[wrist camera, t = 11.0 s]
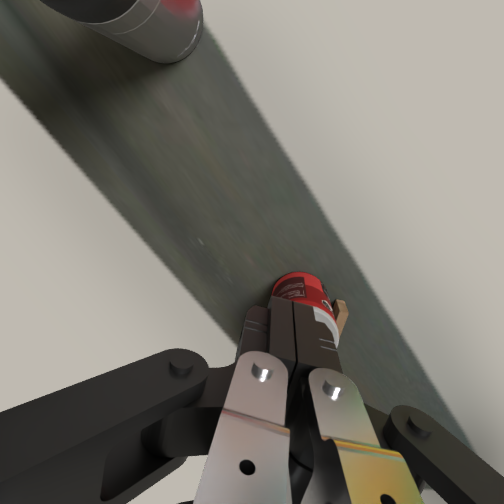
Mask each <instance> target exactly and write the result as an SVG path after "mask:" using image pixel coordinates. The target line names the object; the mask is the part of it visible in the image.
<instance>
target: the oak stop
mask: <svg viewBox="0 0 504 504" xmlns="http://www.w3.org/2000/svg"><path fill="white" fill-rule="evenodd" d="M332 310H333V313H334V317H335V320H336V323H337V327H338V333H339V337H340V335H341V332H342V330H343V327H344V324H345V322H346V319H347V317H348V314H349V313H348V310H347V307H346V304H345V302H344V301H342V300H338V299H336V301H335V303H334V306H333V309H332Z"/></svg>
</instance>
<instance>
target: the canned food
mask: <svg viewBox="0 0 504 504" xmlns="http://www.w3.org/2000/svg"><path fill="white" fill-rule="evenodd" d="M272 296H275V297H279V298H283V299H287V300H291V301H295V302H299V303H303V304H307V305H311V306H313V309H314V314H315V320H316V321H319V322H323V323H325V324H326V325H327V327H328V328H329V329H330V330H331V332H332V333H333V337H334V341H335V342H334V344H335V345H336V348H337V346H338V342H339V333H338V327H337V323H336V320H335V317H334V313H333V310H332V307H331V303H330V300H329V297H328V293H327V290H326V288H325V286H324V284H323V283H322V282H321V281H320V280H319V279H317V278H316V277H315V276H313V275H311V274H308V273H305V272H292V273H289V274H287V275H284V276H283V277H282V278H280V279H279V280H278V282H277V283H276V284H275V286H274V288H273V291H272Z"/></svg>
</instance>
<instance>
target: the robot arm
mask: <svg viewBox="0 0 504 504" xmlns="http://www.w3.org/2000/svg"><path fill="white" fill-rule="evenodd" d="M40 1H41V2H43V3H44V4H46V5H47V6H49V7H50V8H52V9H54V10H55V11H57V12H59V13H61V14H63V15H65V16H67V17H69V18H71V19H73V20H74V21H76V22H78V23H80V24H82V25H84V26H86V27H88V28H90V29H92V30H94V31H96V32H98V33H100V34H102V35H104V36H106V37H108V38H110V39H111V40H113V41H115V42H117V43H119V44H121V45H123V46H125V47H127V48H129V49H131V50H133V51H135V52H136V53H138V54H140V55H142V56H144V57H146V58H148V59H150V60H152V61H155V62H159V63H173V62H177V61H180V60H182V59H184V58H185V57H186V56H188V55H189V54H190V53H191V52H192V51H193V49H194V48H195V47H196V45H197V43H198V41H199V39H200V37H201V33H202V29H203V9H202V5H201V2H200V0H40ZM334 342H335V341H334V337H333V333H332V332H331V330H330V329H329V328H328V327H327V325H326V324H325V323H323V322H319V321H316V320H315V314H314V309H313V306H311V305H307V304H303V303H299V302H295V301H291V300H287V299H283V298H279V297H275V296H271V298H270V300H269V304H268V307H267V308H264V307H260V306H256V305H254V306H253V307H252V308H250V309H249V310H248V311H247V314H246V318H245V321H244V325H243V329H242V332H241V336H240V340H239V343H238V347H237V353H236V358H235V362H234V363H233V364H231V365H229V366H226V367H221V368H209V367H208V364H207V362H206V361H205V359H204V358H203V357H202V356H200V355H199V354H197V353H195V352H193V351H190V350H187V349H179V348H177V349H169V350H165V351H162V352H160V353H157V354H154V355H152V356H149V357H147V358H144V359H141V360H138V361H136V362H133V363H130V364H128V365H125V366H122V367H120V368H117V369H114V370H112V371H109V372H106V373H104V374H101V375H98V376H96V377H93V378H90V379H88V380H85V381H82V382H80V383H77V384H74V385H72V386H69V387H66V388H64V389H61V390H59V391H56V392H53V393H51V394H48V395H45V396H42V397H40V398H37V399H34V400H32V401H29V402H26V403H24V404H21V405H18V406H16V407H13V408H11V409H8V410H5V411H2V412H0V504H126V503H128V502H129V501H131V500H132V499H134V498H135V497H137V496H138V495H139V494H141V493H142V492H144V491H145V490H147V489H148V488H149V487H151V486H153V485H154V484H155V483H157V482H158V481H160V480H161V479H163V478H164V477H165V476H167V475H168V474H170V473H171V472H173V471H174V470H176V469H177V468H179V467H180V466H181V465H182V464H183V463H184V462H185V461H186V459H187V457H188V456H199V455H208V457H207V460H206V463H205V467H204V470H203V473H202V476H201V480H200V483H199V486H198V490H197V493H196V496H195V499H194V500H192V501H187V502H181V503H179V504H424V502H423V500H422V498H421V493H422V491H423V489H424V488H425V486H426V484H428V485H429V486H430V487H431V488H433V489H434V490H435V491H436V492H437V493H438V494H439V495H440V496H441V497H442V498H443V499H444V500H445V501H446V502H447V503H448V504H504V477H503V476H502V475H500V474H499V473H498V472H496V470H494V469H493V468H492V467H491V466H490V465H488V464H487V463H486V462H485V461H483V460H482V459H481V458H480V457H479V456H477V455H476V454H475V453H474V452H473V451H471V450H470V449H469V448H468V447H467V446H465V445H464V444H463V443H462V442H461V441H459V440H458V439H457V438H456V437H455V436H453V435H452V434H451V433H450V432H449V431H447V430H446V429H445V428H444V427H442V426H441V425H440V424H439V423H438V422H436V421H435V420H434V419H433V418H431V417H430V416H429V415H427V414H426V413H424V412H422V411H420V410H418V409H416V408H413V407H410V406H405V405H399V406H396V407H394V408H393V409H392V411H391V413H390V415H387V414H385V413H383V412H381V411H378V410H376V409H374V408H372V407H370V406H368V405H367V404H365V403H363V401H362V398H361V396H360V393H359V391H358V389H357V387H356V386H355V384H354V383H353V382H352V381H351V380H350V379H349V378H348V377H346V376H345V375H343V372H342V369H341V365H340V361H339V357H338V353H337V351H336V350H337V349H336V345H335V344H334Z"/></svg>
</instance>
